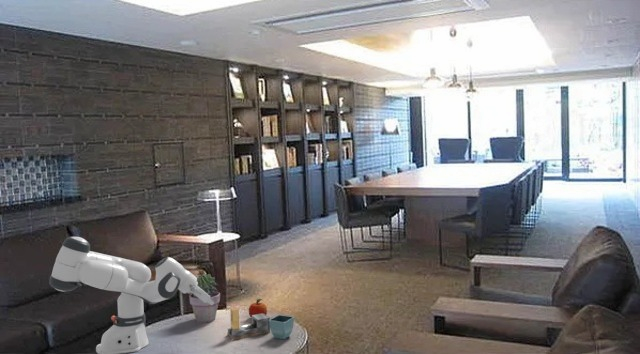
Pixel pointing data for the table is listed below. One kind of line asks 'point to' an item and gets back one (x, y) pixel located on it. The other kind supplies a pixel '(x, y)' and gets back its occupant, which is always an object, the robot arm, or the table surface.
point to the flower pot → (281, 326)
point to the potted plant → (205, 310)
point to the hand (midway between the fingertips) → (209, 301)
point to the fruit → (257, 308)
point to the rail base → (259, 327)
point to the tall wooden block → (235, 321)
